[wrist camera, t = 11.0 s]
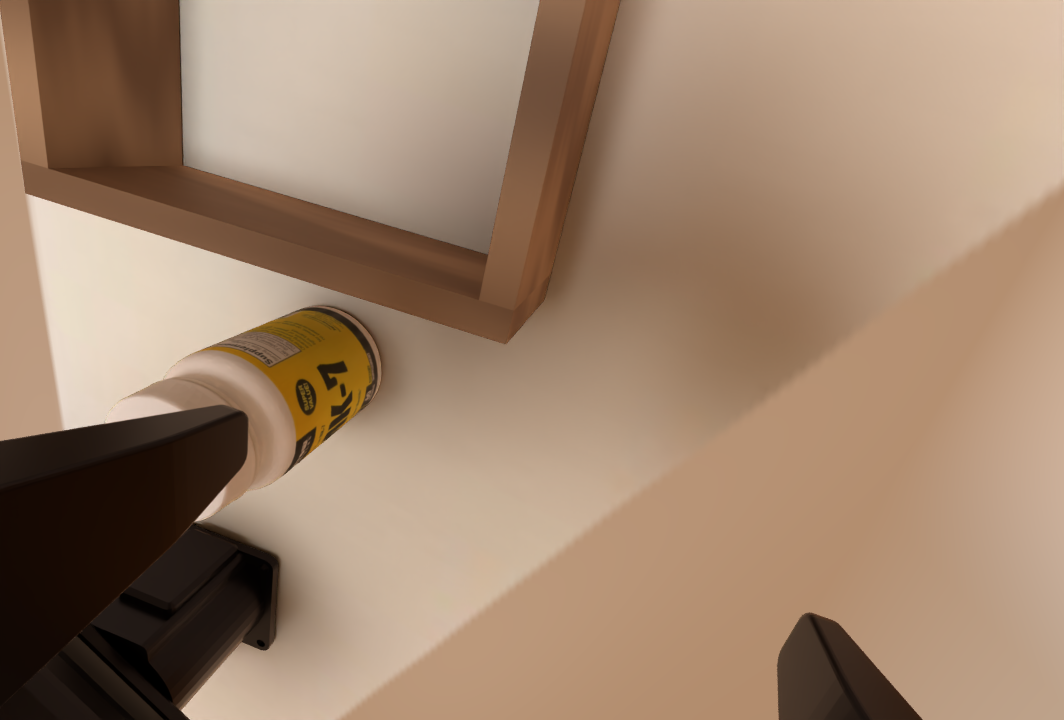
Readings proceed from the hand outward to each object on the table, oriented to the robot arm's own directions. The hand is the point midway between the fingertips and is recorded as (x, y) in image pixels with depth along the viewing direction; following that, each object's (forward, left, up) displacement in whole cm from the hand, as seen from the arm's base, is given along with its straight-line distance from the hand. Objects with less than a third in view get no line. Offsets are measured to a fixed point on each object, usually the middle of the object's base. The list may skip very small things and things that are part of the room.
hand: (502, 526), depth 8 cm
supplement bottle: (-5, +10, -12) cm, 17 cm away
